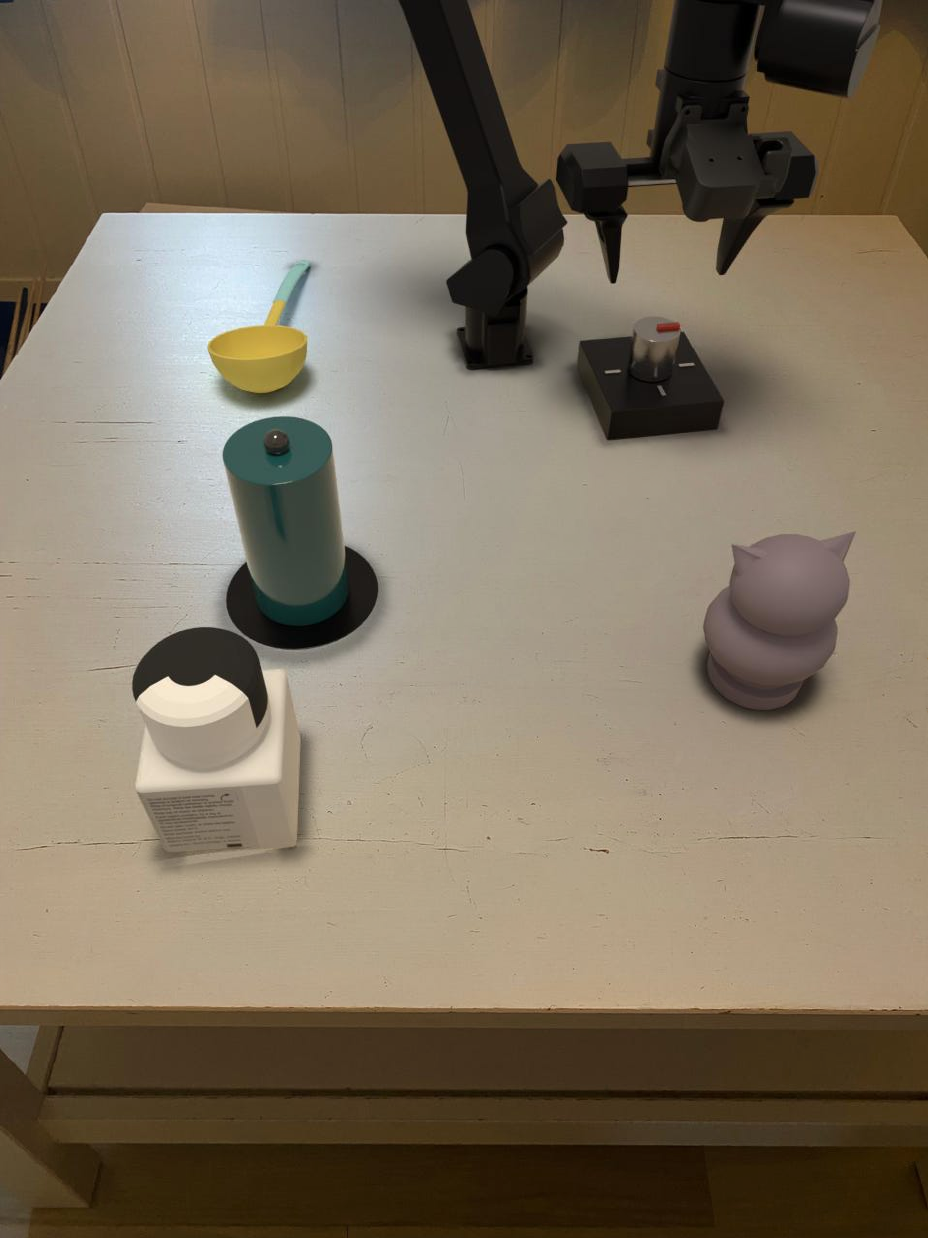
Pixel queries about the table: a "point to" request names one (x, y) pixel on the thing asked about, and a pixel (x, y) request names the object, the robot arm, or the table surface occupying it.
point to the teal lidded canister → (289, 518)
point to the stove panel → (647, 391)
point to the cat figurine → (776, 618)
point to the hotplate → (309, 636)
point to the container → (216, 744)
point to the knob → (653, 348)
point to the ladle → (263, 347)
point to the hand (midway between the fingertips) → (666, 276)
